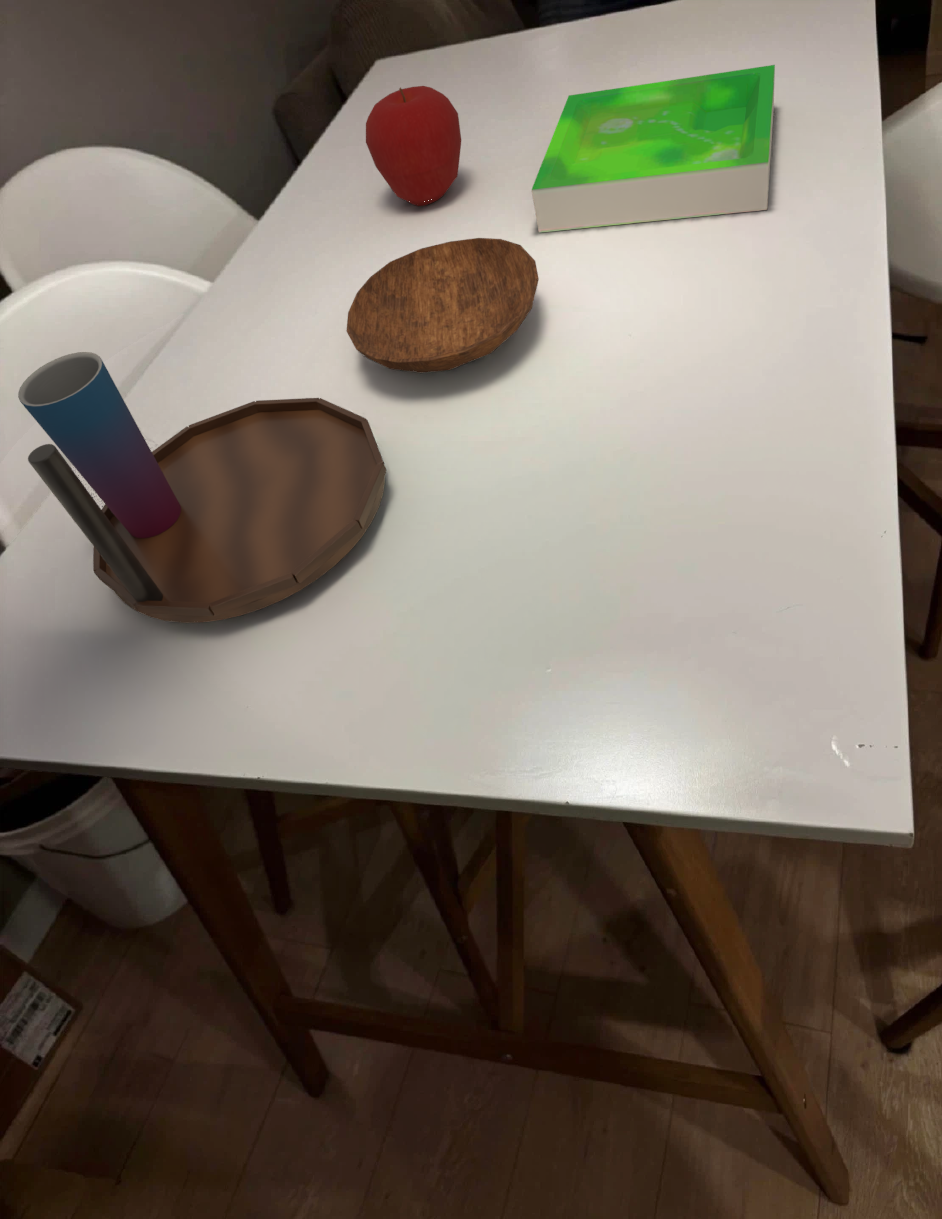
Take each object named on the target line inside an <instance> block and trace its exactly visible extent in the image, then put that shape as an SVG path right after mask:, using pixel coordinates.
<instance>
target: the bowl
mask: <svg viewBox="0 0 942 1219" xmlns="http://www.w3.org/2000/svg"><path fill="white" fill-rule="evenodd" d="M537 268H538V267H537V263H536V260H535V259H534V258H533V257H532V255H531V254H529V253H528V252H527V251H526V249H525V248H524V247H523V245H521V244H519V243H515V242H512V241H509V240H505V239H502V238H492V237H491V238H489V237H474V238H466V239H458V240H451V241H446V242H443V243H438V244H434V245H430V246H426V247H422V248H419V249H417V250H414V251H411V252H409V253H407V254H405V255H403V256H399V257H398V258H396V259H395V258H394V260H391V261H389V262H387V263H386V264H385V265H384V266H383V267H381V268H380V269H379V270H377V271H376V272H375V273H373V274H372V275H371V276H369V278H368V279H367V280H366V281H365V283H363V285H362V286H361V287H360V288H359V290H357V292H356V293H355V296H354V298H353V300H352V303H351V305H350V307H349V310H348V312H347V319H346V320H347V321H346V330H345V331H346V334H347V336H348V338H349V340H350V341H351V343H352V344H353V347H354V348H355V350H356V351H358V353H360V354H361V355H363V356H364V357H365V358H366V359H369V360H370V361H372V362H375V363H376V364H379V365H381V366H383V367H385V368H387V369H389V370H397V371H402V372H403V371H404V372H411V373H419V374H424V373H425V374H426V373H436V372H437V373H438V372H445V371H450V370H453V369H456V368H459V367H462V366H463V365H466V364H468V363H471V362H473V361H475V360H479V359H481V358H483V357H486V356H488V355H490V354H492V353H493V352H494V351H495V350H496V349H497V348H499V347H500V346H501V345H502V344H504V343H505V342H506V341H507V340H508V339H509V338H511V336H513V334H515V333H516V332H517V331H518V330H519V328H520V327H521V325H522V324H523V322H524V321H525V319H526V318H527V316H528V315H529V313H530V312H531V311H532V309H533V306H534V301H535V297H536V294H537V293H536V292H537V288H538V284H539V279H540V277H539V273H538V269H537Z"/></svg>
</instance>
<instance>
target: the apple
mask: <svg viewBox="0 0 942 1219" xmlns="http://www.w3.org/2000/svg"><path fill="white" fill-rule="evenodd" d="M365 144H366V146H367V148H368V151H369V153H370V156H371V159H372V162H373V164H374V166H375V168H376V170H377V171H378V172H379V173H380V175H381V176H382V178H383V179H384V181H386V183H387V185H388V186H389V188H390V189H391V191H392V192H393V193H394V195H395V196H396V197H398V198H400V199H401V200H403V201H405V200H406V202H407V203H409V204H411V205H413V206H416V207H424V206H428V205H430V204H433V203H435V202H437V201H439V200H441V198H443V197H444V196H445V195H446V193H447V191H449V189H450V188H451V187H452V184H453V183H454V182H455V181H456V179H457V178H458V175H459V167H460V158H461V149H462V135H461V125H460V117H459V113H458V111H457V109H456V108H455V107H454V105H453V103H452V101H450V99H449V97H447V96H446V95H445V94H444V93H442V92H440V91H438V90H436V89H435V88H433V87H430V86H427V85H418V86H417V85H416V86H409V87H404V88H402V87H399V88H398V90H395V91H393V92H391V93H389V94H387V95H386V96H385V97H383V98H381V99H380V100H378V102H376V103H375V104H374V105H373V107H372V109H371V111H370V113H369V115H368V116H367V119H366V122H365ZM431 199H432V200H431ZM428 200H429V201H428ZM409 201H410V202H409ZM424 201H425V202H424Z"/></svg>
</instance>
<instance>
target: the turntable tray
mask: <svg viewBox="0 0 942 1219" xmlns="http://www.w3.org/2000/svg"><path fill="white" fill-rule="evenodd" d="M151 452H152V454H153V456H154V457H155V459H156V461H157V463H158V465H159V467H160V469H161V470H162V472H163V474H164V476H165V478H166V480H167V482H168V483H169V485H170V487H171V489H172V491H173V493H174V494H175V496H176V498H177V500H178V502H179V504H180V506H181V513H180V515H179V517H178V519H177V521H176V522H175V523H174V524H173V525H172V526H171V527H170V528H168V529H167V530H166V531H164V532H162V533H160V534H158V535H156V536H153V537H149V538H137V537H134V536H132V535H131V534H130V533H129V532H128V531H127V530H126V528H125V527H124V526H123V525H122V524H121V522H120V521H119V520H118V519H117V518H116V516H115V515H114V514H113V513H112V511H111V510H110V509H109V508H108V507H107V505H106V504H105V503H104V505H103V506H102V508H101V507H100V506H99V505H98V503H97V501H96V500H95V499H94V498H93V496H92V495H91V494H90V492H89V491H88V489H87V488H86V486H85V485H84V484H83V483H82V480H80V478H79V477H78V475H77V474H76V473H75V471H74V470H73V469H72V468H71V466H70V465H69V463H68V462H67V460H66V459H65V458H64V457H63V455H62V454H61V452H60V451H59V449H58V447H57V446H56V445H54V444H52V443H45V444H42V445H40V446H38V447H36V448H35V449H33V450H32V451H31V452H30V453H29V455H28V456H27V462H28V463H29V464H30V466H31V467H32V468H33V469H34V471H35V472H36V473H37V475H38V476H39V478H40V479H41V480H42V481H43V482H44V484H45V485H46V487H47V488H48V489H49V490H50V492H51V493H52V494H53V495H54V497H55V498H56V500H57V501H58V502H59V504H60V505H61V506H62V507H63V508H64V510H65V511H66V512H67V514H68V515H69V516H70V518H71V519H72V520H73V522H74V523H75V524H76V525H77V527H78V528H79V529H80V530H81V532H82V534H84V536H85V537H86V538H87V540H88V541H89V542H90V544H91V545H92V546H93V549H92V550H93V553H92V555H93V558H92V569H93V570H92V572H93V573H94V575H95V576H96V577H97V579H98V580H99V581H100V582H102V583H103V584H104V585H105V586H106V587H108V588H109V589H110V590H111V591H113V593H114V594H115V595H116V596H117V597H118V598H119V599H120V600H121V601H122V603H124V604H125V605H126V606H128V607H129V608H130V609H132V610H133V611H135V612H137V613H140V614H142V615H144V616H146V617H149V618H153V619H157V620H160V621H163V622H170V623H172V622H173V623H179V624H180V623H182V624H187V623H188V624H190V623H191V624H193V623H195V624H196V623H199V624H200V623H207V622H215V621H223V620H228V619H231V618H236V617H240V616H244V615H247V614H250V613H253V612H255V611H256V612H257V611H259V610H263V609H265V608H267V607H269V606H271V605H274V604H276V603H279V602H281V601H283V600H284V599H286V598H289V597H290V596H292V595H294V594H296V593H298V592H300V591H301V590H303V589H305V588H307V587H308V586H309V585H310V584H312V583H314V582H315V581H317V580H319V579H321V577H322V576H324V575H325V574H326V573H327V572H329V571H330V570H331V569H332V568H334V567H335V566H336V565H337V564H339V562H341V560H342V559H343V558H345V557H346V556H347V555H348V554H349V553H350V552H351V550H353V548H354V547H355V546H356V545H357V544H358V543H359V541H360V540H361V539H362V538H363V536H364V535H365V533H366V532H367V531H368V529H369V527H370V526H371V524H372V522H373V521H374V519H375V516H376V515H377V513H378V511H379V509H380V505H381V502H382V499H383V496H384V491H385V485H386V484H385V483H386V474H387V468H386V465H385V462H384V460H383V457H382V454H381V452H380V448H379V446H378V443H377V441H376V439H375V436H374V434H373V431H372V428H371V425H370V423H369V420H368V419H367V418H366V417H364V416H361V415H359V414H358V413H355V412H352V411H350V410H348V409H346V408H344V407H341V406H339V405H337V404H335V403H332V402H330V401H328V400H326V399H323V398H322V397H320V398H319V397H305V398H282V399H281V398H280V399H262V400H259V399H258V400H254V401H250V402H248V403H245V404H242V405H240V406H237V407H234V408H231V409H229V410H226V411H224V412H223V411H222V412H221V413H219V414H216V415H215V414H214V415H213V416H210V417H207V418H205V419H201V420H199V421H196V422H194V423H191V424H189V425H188V426H185V427H184V428H183V429H181V430H179V431H178V432H177V433H176V434H174V435H173V436H171V437H170V438H168V439H167V440H166V441H165V442H163V443H162V444H161V445H158V447H156V448H155V449H153V450H151Z"/></svg>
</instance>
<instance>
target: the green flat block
mask: <svg viewBox="0 0 942 1219" xmlns="http://www.w3.org/2000/svg"><path fill="white" fill-rule="evenodd" d="M775 72H776V64H770V65H763V66H757V67H750V68H744V69H737V70H730V71H724V72H717V73H710V74H709V73H708V74H703V75H696V76H690V77H683V78H676V79H670V80H669V79H668V80H664V81H657V82H650V83H643V84H636V85H630V86H624V87H616V88H610V89H609V88H608V89H603V90H595V91H589V92H584V93H577V94H570V95H568V96H567V100H566V102H565V104H564V107H563V109H562V111H561V114H560V117H559V119H558V121H557V124H556V127H555V129H554V132H553V134H552V137H551V139H550V142H549V144H548V147H547V149H546V152H545V154H544V157H543V159H542V162H541V164H540V167H539V170H538V172H537V175H536V177H535V180H534V182H533V185H532V188H531V195H532V200H533V206H534V213H535V218H536V224H537V229H538V233H540V234H541V233H548V232H550V233H551V232H560V231H568V230H569V231H570V230H578V229H580V230H581V229H590V228H598V227H609V226H610V227H611V226H620V225H628V224H638V223H648V222H659V221H667V220H680V219H689V218H699V217H708V216H718V215H719V216H720V215H729V214H738V213H749V212H758V211H767V210H768V202H769V187H770V174H771V159H772V158H771V157H772V143H773V124H774V109H775V79H776V78H775V74H776V73H775Z"/></svg>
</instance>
